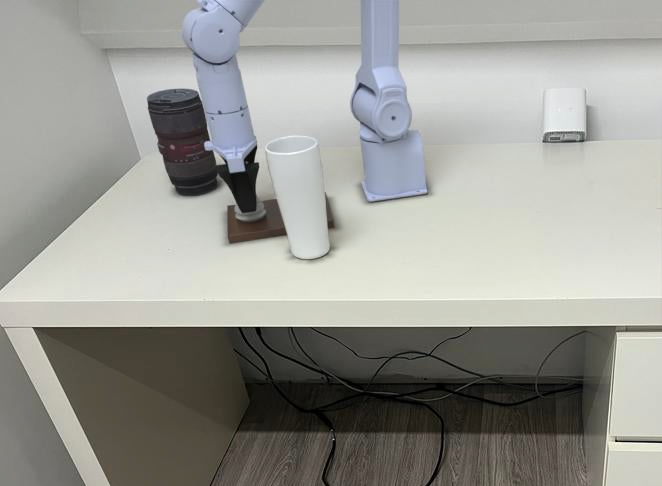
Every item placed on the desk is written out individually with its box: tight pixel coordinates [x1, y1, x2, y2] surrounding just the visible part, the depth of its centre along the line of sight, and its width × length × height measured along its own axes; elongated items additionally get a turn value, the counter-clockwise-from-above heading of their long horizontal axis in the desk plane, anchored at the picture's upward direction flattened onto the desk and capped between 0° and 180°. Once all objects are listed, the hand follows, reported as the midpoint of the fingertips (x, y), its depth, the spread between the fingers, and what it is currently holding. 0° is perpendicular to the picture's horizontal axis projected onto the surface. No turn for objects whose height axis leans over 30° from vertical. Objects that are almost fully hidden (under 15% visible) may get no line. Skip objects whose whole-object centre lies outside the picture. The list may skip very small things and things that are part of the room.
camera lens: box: [146, 88, 219, 197], centre depth 118 cm, size 8×8×15 cm
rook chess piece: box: [234, 161, 266, 222], centre depth 107 cm, size 4×4×8 cm
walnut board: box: [226, 191, 336, 244], centre depth 111 cm, size 15×11×1 cm
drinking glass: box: [264, 135, 331, 260], centre depth 98 cm, size 7×7×15 cm
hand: (248, 202), depth 109 cm, fingers open, 6 cm apart
